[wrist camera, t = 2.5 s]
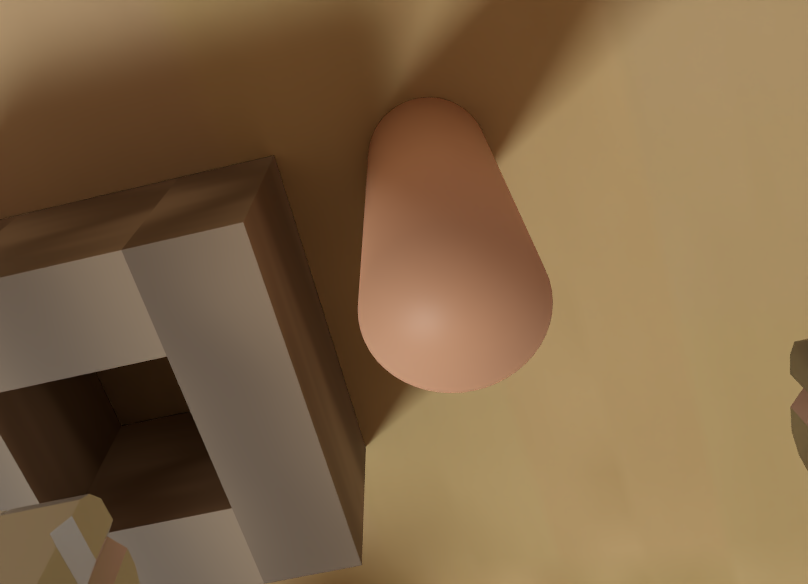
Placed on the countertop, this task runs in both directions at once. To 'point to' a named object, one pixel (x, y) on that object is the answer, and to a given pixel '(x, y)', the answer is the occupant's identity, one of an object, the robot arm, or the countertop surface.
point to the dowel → (446, 255)
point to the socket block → (182, 379)
